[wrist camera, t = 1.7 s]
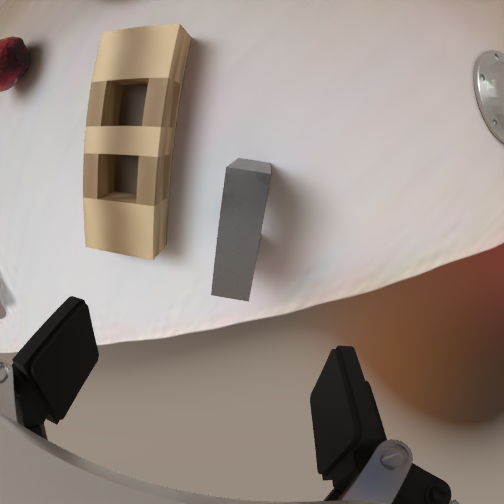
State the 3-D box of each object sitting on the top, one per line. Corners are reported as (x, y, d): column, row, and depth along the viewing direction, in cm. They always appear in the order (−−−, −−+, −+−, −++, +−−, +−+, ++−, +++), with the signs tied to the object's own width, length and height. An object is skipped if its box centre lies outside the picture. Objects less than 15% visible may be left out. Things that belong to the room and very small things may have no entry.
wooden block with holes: (191, 37, 21) (179, 24, 17) (166, 244, 29) (152, 260, 26) (121, 42, 20) (102, 32, 17) (104, 233, 29) (85, 247, 26)
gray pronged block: (238, 158, 25) (226, 167, 18) (270, 163, 25) (271, 173, 18) (225, 254, 29) (211, 295, 22) (253, 259, 29) (248, 301, 22)
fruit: (11, 51, 19) (-27, 48, 12) (44, 32, 19) (4, 23, 11) (5, 98, 22) (-35, 102, 15) (37, 83, 22) (-8, 82, 14)
